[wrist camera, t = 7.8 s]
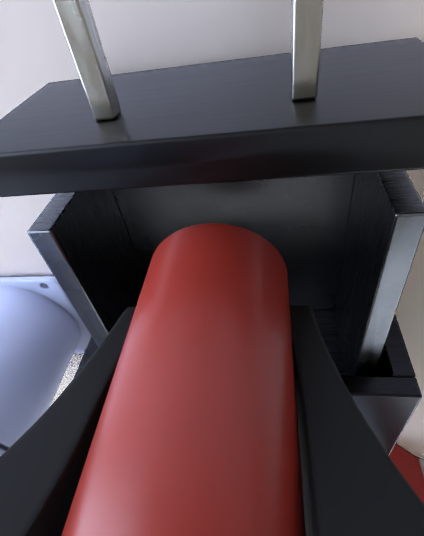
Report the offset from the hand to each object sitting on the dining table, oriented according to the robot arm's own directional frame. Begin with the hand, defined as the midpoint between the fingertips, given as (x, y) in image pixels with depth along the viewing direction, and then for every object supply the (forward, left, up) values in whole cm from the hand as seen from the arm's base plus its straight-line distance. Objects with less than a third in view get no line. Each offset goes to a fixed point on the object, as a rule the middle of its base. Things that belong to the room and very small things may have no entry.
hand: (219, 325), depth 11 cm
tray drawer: (0, +2, -6) cm, 7 cm away
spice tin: (0, +1, -1) cm, 2 cm away
